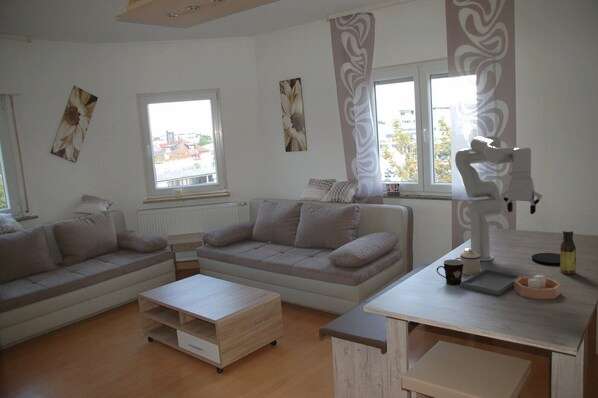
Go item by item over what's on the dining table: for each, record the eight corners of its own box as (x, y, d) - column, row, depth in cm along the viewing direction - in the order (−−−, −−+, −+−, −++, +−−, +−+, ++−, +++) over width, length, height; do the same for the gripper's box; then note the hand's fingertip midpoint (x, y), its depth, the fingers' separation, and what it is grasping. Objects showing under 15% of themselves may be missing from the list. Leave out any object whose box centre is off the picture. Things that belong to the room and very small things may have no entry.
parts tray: (460, 287, 200) (460, 282, 199) (485, 273, 216) (485, 268, 215) (498, 296, 187) (498, 290, 187) (522, 280, 203) (522, 275, 203)
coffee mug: (463, 280, 209) (463, 259, 207) (464, 286, 201) (463, 265, 199) (437, 279, 213) (437, 259, 211) (436, 285, 204) (436, 264, 203)
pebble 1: (526, 292, 187) (526, 280, 187) (530, 288, 190) (530, 277, 190) (537, 294, 184) (538, 282, 183) (542, 291, 187) (542, 279, 186)
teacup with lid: (482, 271, 220) (481, 248, 218) (478, 276, 212) (478, 252, 211) (456, 268, 226) (456, 246, 224) (452, 274, 218) (452, 250, 217)
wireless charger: (533, 265, 224) (534, 261, 224) (530, 255, 240) (530, 252, 240) (575, 267, 217) (575, 263, 217) (568, 257, 234) (568, 253, 233)
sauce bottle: (577, 274, 206) (579, 232, 203) (563, 274, 207) (563, 232, 204) (572, 270, 212) (573, 229, 209) (557, 270, 214) (558, 229, 211)
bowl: (509, 293, 190) (509, 284, 189) (524, 282, 200) (524, 274, 200) (550, 302, 178) (550, 292, 177) (564, 290, 189) (564, 281, 188)
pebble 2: (531, 288, 191) (531, 276, 190) (535, 285, 194) (536, 273, 194) (543, 290, 188) (543, 278, 187) (547, 287, 191) (547, 275, 190)
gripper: (498, 175, 205) (498, 212, 208) (538, 176, 193) (538, 215, 195) (505, 173, 210) (505, 209, 213) (545, 174, 197) (544, 213, 200)
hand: (521, 212), depth 204 cm, fingers open, 9 cm apart
